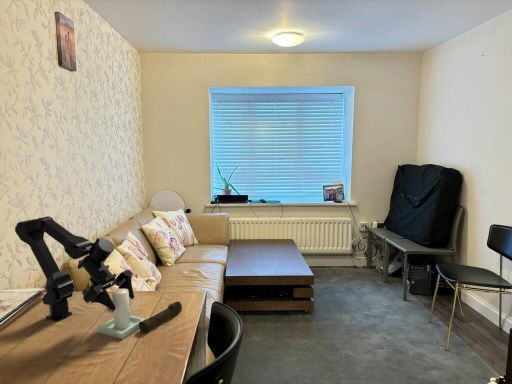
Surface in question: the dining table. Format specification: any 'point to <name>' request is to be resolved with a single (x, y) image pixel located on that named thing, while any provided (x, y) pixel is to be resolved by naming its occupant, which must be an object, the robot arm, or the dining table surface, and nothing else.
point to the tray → (120, 334)
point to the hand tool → (160, 317)
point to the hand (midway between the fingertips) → (124, 304)
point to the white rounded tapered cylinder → (121, 309)
